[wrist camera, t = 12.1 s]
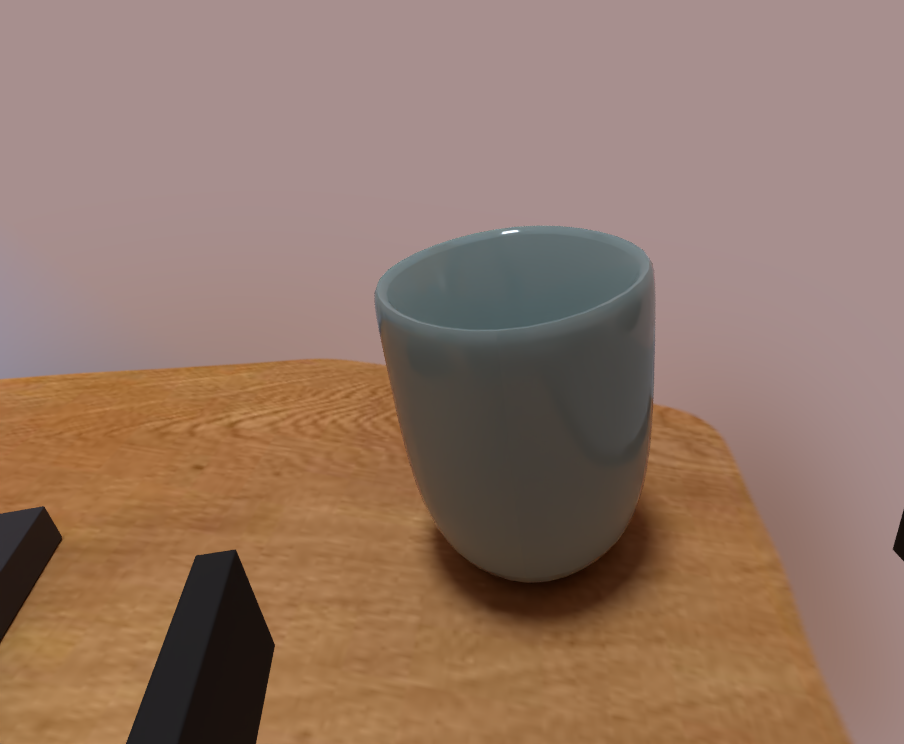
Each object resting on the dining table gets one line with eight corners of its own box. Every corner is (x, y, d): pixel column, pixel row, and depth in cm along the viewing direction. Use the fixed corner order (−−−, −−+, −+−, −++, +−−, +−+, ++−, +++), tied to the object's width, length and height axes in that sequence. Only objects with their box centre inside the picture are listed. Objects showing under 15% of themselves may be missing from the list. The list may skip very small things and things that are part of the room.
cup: (527, 669, 18) (490, 367, 14) (387, 530, 24) (325, 283, 19) (696, 532, 22) (715, 254, 17) (539, 439, 28) (520, 211, 23)
